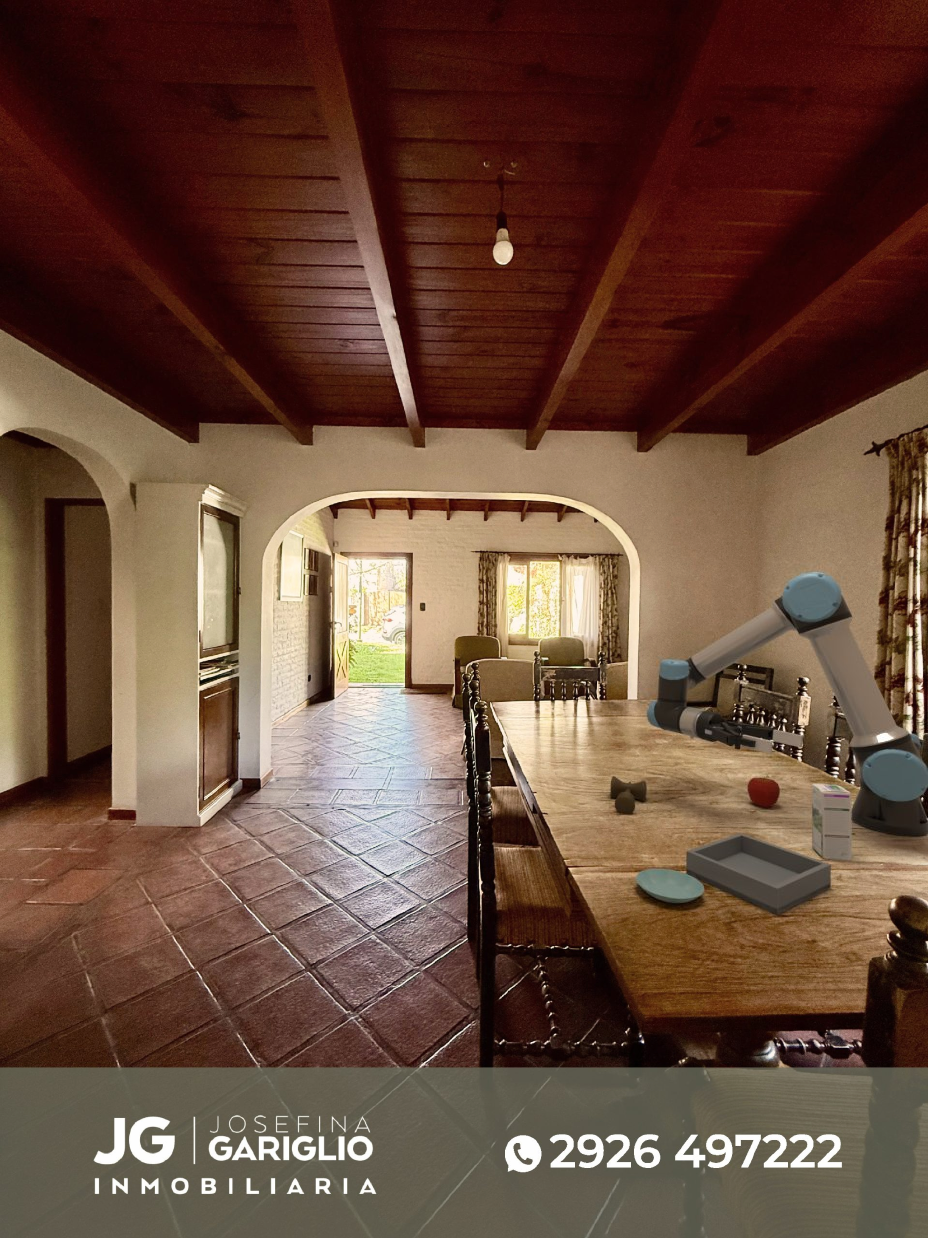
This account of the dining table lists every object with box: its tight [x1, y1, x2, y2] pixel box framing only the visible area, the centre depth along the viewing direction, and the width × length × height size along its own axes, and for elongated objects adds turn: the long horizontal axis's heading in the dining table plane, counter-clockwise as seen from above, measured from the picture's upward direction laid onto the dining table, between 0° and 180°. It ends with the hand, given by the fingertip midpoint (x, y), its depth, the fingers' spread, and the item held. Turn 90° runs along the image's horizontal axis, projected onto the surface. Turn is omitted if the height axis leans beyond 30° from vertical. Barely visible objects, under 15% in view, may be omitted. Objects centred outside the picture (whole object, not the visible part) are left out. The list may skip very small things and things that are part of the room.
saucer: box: [635, 868, 705, 904], centre depth 103 cm, size 12×12×2 cm
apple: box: [746, 776, 781, 808], centre depth 152 cm, size 8×8×8 cm
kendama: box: [609, 775, 648, 815], centre depth 154 cm, size 6×10×20 cm
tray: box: [685, 832, 832, 916], centre depth 108 cm, size 18×18×4 cm
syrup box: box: [811, 783, 853, 862], centre depth 120 cm, size 6×6×14 cm
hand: (787, 744), depth 128 cm, fingers open, 13 cm apart
